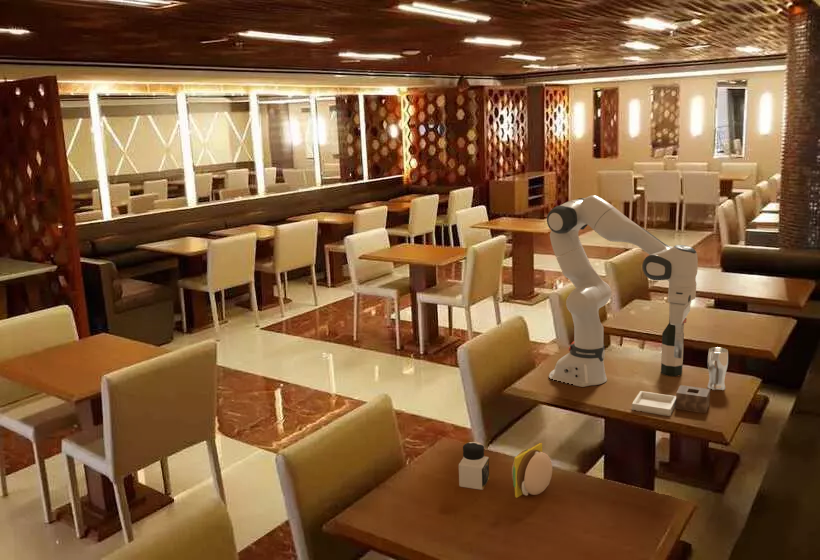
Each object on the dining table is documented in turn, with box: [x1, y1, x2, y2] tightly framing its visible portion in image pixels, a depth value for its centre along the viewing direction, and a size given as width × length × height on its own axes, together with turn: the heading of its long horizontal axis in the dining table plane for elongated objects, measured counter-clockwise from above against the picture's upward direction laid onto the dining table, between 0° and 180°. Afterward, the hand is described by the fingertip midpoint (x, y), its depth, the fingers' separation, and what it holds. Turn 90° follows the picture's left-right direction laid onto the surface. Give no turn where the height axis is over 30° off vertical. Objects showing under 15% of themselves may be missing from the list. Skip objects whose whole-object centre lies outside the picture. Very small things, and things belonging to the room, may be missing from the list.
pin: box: [674, 317, 688, 358], centre depth 248 cm, size 4×4×14 cm
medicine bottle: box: [458, 441, 490, 491], centre depth 206 cm, size 7×7×12 cm
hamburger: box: [511, 442, 553, 498], centre depth 200 cm, size 12×8×12 cm
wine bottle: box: [660, 318, 685, 377], centre depth 283 cm, size 8×8×30 cm
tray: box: [631, 390, 676, 417], centre depth 254 cm, size 13×13×2 cm
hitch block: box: [675, 384, 711, 414], centre depth 252 cm, size 10×8×6 cm
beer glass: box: [707, 346, 729, 391], centre depth 267 cm, size 7×7×15 cm
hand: (679, 330), depth 248 cm, fingers closed on pin, 3 cm apart
